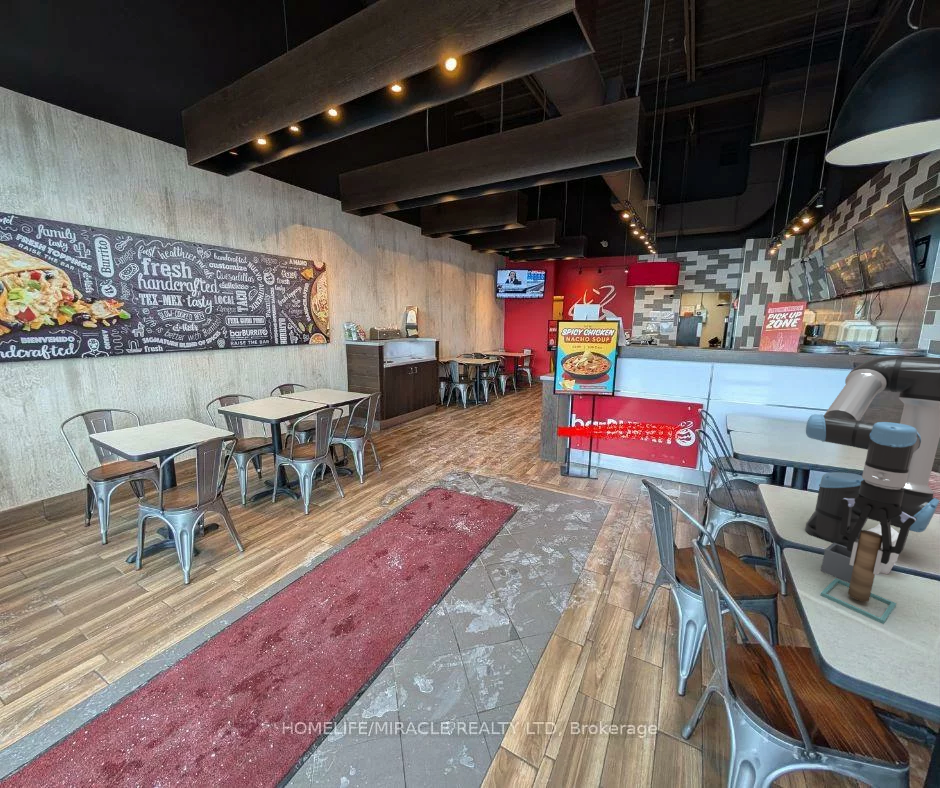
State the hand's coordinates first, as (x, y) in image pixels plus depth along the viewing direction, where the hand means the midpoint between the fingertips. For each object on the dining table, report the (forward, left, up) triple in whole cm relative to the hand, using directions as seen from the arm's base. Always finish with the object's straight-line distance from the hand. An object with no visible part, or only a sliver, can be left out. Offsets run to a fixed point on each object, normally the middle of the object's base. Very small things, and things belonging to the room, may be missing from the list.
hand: (864, 567), depth 101 cm
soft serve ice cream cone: (-25, -1, -11) cm, 27 cm away
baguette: (0, 0, -8) cm, 8 cm away
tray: (0, 0, -11) cm, 11 cm away
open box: (-12, -6, -11) cm, 17 cm away
